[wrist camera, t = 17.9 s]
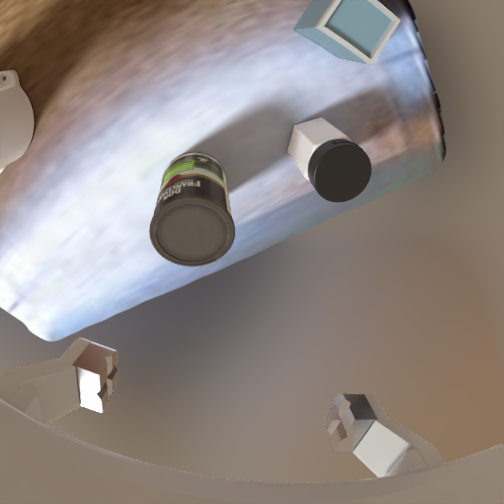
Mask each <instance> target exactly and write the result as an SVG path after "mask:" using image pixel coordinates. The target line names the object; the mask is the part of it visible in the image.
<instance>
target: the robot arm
mask: <svg viewBox="0 0 504 504" xmlns="http://www.w3.org/2000/svg"><path fill="white" fill-rule="evenodd" d="M5 76H6V80H5ZM33 130H34V115H33V110H32V106H31V103H30V101H29V99H28V97H27V95H26V94H25V92H24V91H23V90H22V88H21V86H20V83H19V78H18V75H17V72H16V71H15V70H5V71H0V173H2V172H3V171H4V169H5V168H6V167H7V165H8V164H10V163H12V162H13V161H16V160H17V159H19V158H20V157H21V156H22V155H23V154H24V153H25V152H26V150H27V148H28V147H29V145H30V142H31V139H32V136H33ZM117 361H118V352H117V350H114V349H111V348H108V347H106V346H103V345H100V344H97V343H95V342H91V341H89V340H86V339H84V338H78V339H77V340H76V341H75V342H74V343H73V344H72V345H71V346H70V348H69V349H68V350H67V351H66V352H65V353H64V354H63V356H62V357H61V358H60V359H59V360H58V359H52V360H48V361H44V362H40V363H37V364H33V365H29V366H25V367H21V368H17V369H13V370H9V371H5V372H3V373H2V374H1V375H0V504H504V445H503V444H499V445H496V446H493V447H491V448H489V449H486V450H484V451H481V452H478V453H475V454H473V455H470V456H467V457H464V458H461V459H457V460H454V461H451V462H447V463H444V462H443V460H442V458H441V457H440V456H439V453H438V452H437V451H436V449H435V447H434V446H433V445H432V444H430V443H429V442H427V441H425V440H424V439H422V438H421V437H419V436H417V435H416V434H414V433H413V432H411V431H410V430H408V429H406V428H405V427H403V426H402V425H400V424H399V423H397V422H396V421H394V420H392V419H389V418H388V416H387V415H386V413H385V411H384V409H383V408H382V406H381V404H380V402H379V401H378V399H377V397H376V396H375V395H374V394H346V393H339V394H338V395H337V396H336V398H335V400H334V402H335V405H334V406H333V407H332V408H330V409H329V411H328V413H327V415H326V419H325V427H326V430H327V432H329V433H330V434H331V435H332V436H331V438H330V442H331V445H332V448H333V451H353V453H354V454H355V455H356V456H357V457H358V458H359V459H360V460H361V461H362V462H363V463H364V464H365V465H366V466H367V467H368V468H369V469H370V470H371V471H372V472H373V473H374V474H375V475H377V476H378V477H377V478H370V479H361V480H352V481H340V482H325V483H273V482H256V481H245V480H244V481H243V480H234V479H226V478H219V477H212V476H206V475H200V474H194V473H189V472H184V471H179V470H174V469H170V468H165V467H161V466H157V465H153V464H149V463H146V462H142V461H139V460H136V459H132V458H129V457H126V456H122V455H119V454H116V453H113V452H111V451H108V450H105V449H102V448H99V447H97V446H94V445H92V444H89V443H86V442H84V441H81V440H79V439H77V438H74V437H72V436H70V435H67V434H65V433H63V432H61V431H59V430H56V429H54V428H52V427H50V426H48V425H46V424H48V423H50V422H52V421H54V420H56V419H58V418H60V417H62V416H64V415H65V414H67V413H69V412H71V411H73V410H75V409H76V408H78V407H80V405H81V406H84V407H87V408H89V409H92V410H95V411H98V412H101V413H102V412H103V410H104V409H105V406H106V405H107V403H108V395H109V394H111V393H113V391H114V389H115V386H116V382H117V377H118V369H117V367H116V366H115V364H116V363H117Z"/></svg>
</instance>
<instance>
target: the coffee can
mask: <svg viewBox="0 0 504 504" xmlns="http://www.w3.org/2000/svg"><path fill="white" fill-rule="evenodd" d="M149 232H150V239H151V242H152V244H153V246H154V248H155V249H156V251H157V252H158V253H159V254H160V255H161V256H162V257H164V258H165V259H167V260H168V261H170V262H172V263H175V264H178V265H182V266H189V267H195V266H203V265H207V264H210V263H213V262H215V261H217V260H218V259H220V258H221V257H223V256H224V255H225V254H226V253H227V252H228V251H229V249H230V247H231V246H232V244H233V241H234V237H235V226H234V222H233V219H232V215H231V208H230V202H229V196H228V189H227V183H226V174H225V171H224V169H223V167H222V166H221V165H220V163H219V162H218V161H217V160H215V159H214V158H212V157H211V156H209V155H206V154H203V153H187V154H184V155H181V156H179V157H177V158H175V159H174V160H173V161H172V162H171V163H170V164H169V165H168V166H167V168H166V169H165V171H164V174H163V179H162V184H161V188H160V191H159V195H158V199H157V203H156V207H155V211H154V216H153V218H152V220H151V224H150V231H149Z"/></svg>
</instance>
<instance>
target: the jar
mask: <svg viewBox="0 0 504 504" xmlns="http://www.w3.org/2000/svg"><path fill="white" fill-rule="evenodd" d="M287 152H288V154H289V155H290V156H291V158H292V159H293V161H294V162H295V164H296V165H297V166H298V168H299V169H300V171H301V172H302V174H303V175H304V177H305V178H307V179H308V180H309V181H310V182H311V184H312V185H313V186H314V188H315V189H316V191H317V192H318V194H319V195H320V196H321V197H323V198H324V199H326V200H328V201H331V202H345V201H348V200H351V199H353V198H355V197H356V196H357V195H359V194H360V193H361V192H362V191H363V190H364V189H365V187H366V186H367V184H368V182H369V180H370V176H371V162H370V159H369V157H368V156H367V154H366V153H365V152H364V151H363V149H362V148H360V147H359V146H358V145H357V144H355V143H353V142H352V141H351V140H350V139H349V138H348V137H347V136H346V135H345V134H344V133H342V132H341V131H340V130H338V129H337V128H336V127H334V126H333V125H332V124H330V123H329V122H328V121H326V120H325V119H323V118H322V117H321V118H317V119H314V120H310V121H307V122H303V123H300V124H297V125H294V128H293V132H292V136H291V139H290V143H289V146H288V150H287Z"/></svg>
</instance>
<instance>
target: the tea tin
mask: <svg viewBox="0 0 504 504" xmlns="http://www.w3.org/2000/svg"><path fill="white" fill-rule="evenodd" d="M400 21H401V20H400V19H399V18H397V17H396V16H395V15H394V14H393V13H392V12H391V11H389V10H388V9H387V8H386V7H385V6H384V5H382V4H381V3H380V2H379V1H377V0H313V1H312V2H311V4H310V5H309V7H308V8H307V10H306V11H305V13H304V14H303V16H302V17H301V19H300V20H299V22H298V23H297V25H296V26H295V28H294V29H293V30H294V31H296V32H298V33H299V34H301V35H303V36H304V37H306V38H308V39H309V40H311V41H313V42H314V43H316V44H318V45H319V46H321V47H322V48H324V49H325V50H327V51H329V52H330V53H332V54H333V55H335V56H336V57H338V58H340V59H346V60H351V61H356V62H361V63H365V64H370V65H372V64H373V63H374V61H375V60H376V58H377V57H378V55H379V54H380V52H381V50H382V49H383V47H384V46H385V44H386V43H387V41H388V40H389V38H390V37H391V35H392V33H393V32H394V30H395V29H396V27H397V26H398V24H399V23H400Z"/></svg>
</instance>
